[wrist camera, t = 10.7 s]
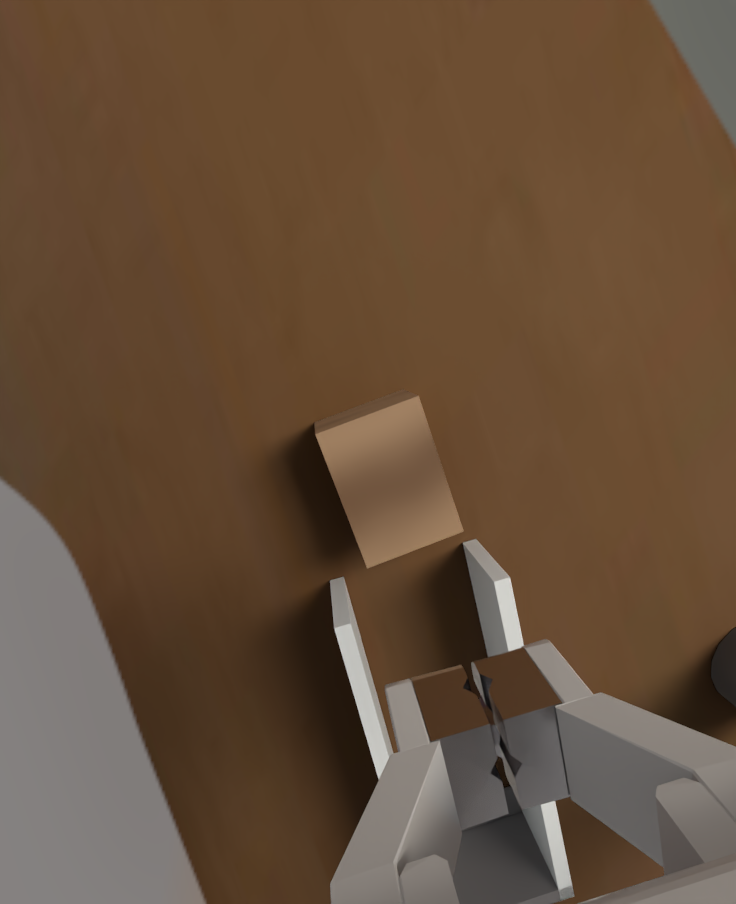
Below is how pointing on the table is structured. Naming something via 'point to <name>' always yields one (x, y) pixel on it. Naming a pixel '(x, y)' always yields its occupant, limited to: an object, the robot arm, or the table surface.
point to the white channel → (521, 831)
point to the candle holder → (725, 667)
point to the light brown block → (388, 476)
